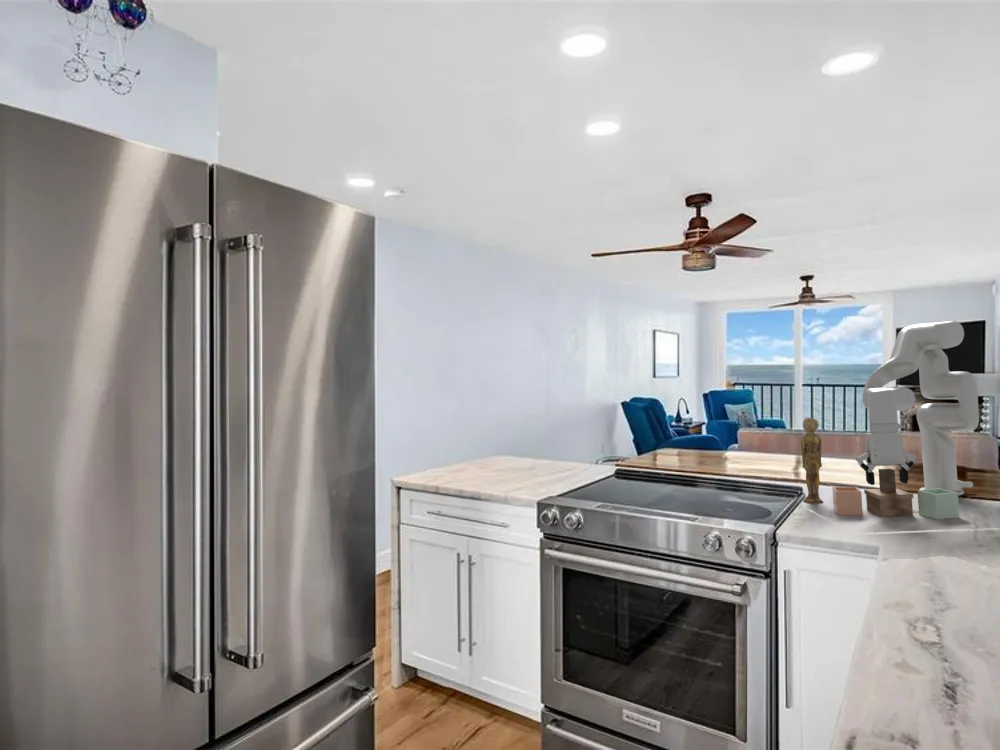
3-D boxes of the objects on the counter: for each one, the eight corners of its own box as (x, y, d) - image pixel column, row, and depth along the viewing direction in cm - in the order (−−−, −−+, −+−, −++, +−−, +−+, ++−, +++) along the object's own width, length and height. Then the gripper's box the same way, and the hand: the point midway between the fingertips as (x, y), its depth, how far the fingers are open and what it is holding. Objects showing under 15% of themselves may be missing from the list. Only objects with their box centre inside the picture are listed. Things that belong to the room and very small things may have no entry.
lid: (896, 491, 194) (894, 466, 194) (913, 498, 185) (911, 471, 185) (864, 493, 195) (862, 467, 195) (880, 499, 186) (878, 472, 186)
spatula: (878, 505, 202) (878, 503, 202) (889, 504, 203) (888, 502, 203) (910, 515, 188) (910, 512, 188) (921, 514, 188) (921, 511, 188)
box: (896, 510, 194) (895, 492, 194) (913, 517, 185) (911, 498, 185) (867, 512, 195) (865, 493, 195) (881, 518, 186) (880, 499, 186)
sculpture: (820, 501, 213) (814, 416, 213) (828, 505, 207) (822, 417, 207) (800, 502, 214) (794, 417, 214) (807, 506, 208) (801, 418, 208)
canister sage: (940, 514, 187) (938, 488, 187) (959, 519, 180) (957, 492, 180) (919, 516, 186) (917, 490, 186) (937, 521, 179) (935, 494, 179)
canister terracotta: (858, 511, 196) (856, 487, 196) (862, 517, 190) (861, 491, 190) (833, 511, 199) (832, 486, 199) (837, 516, 192) (835, 491, 192)
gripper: (906, 426, 193) (909, 480, 193) (849, 429, 195) (852, 482, 195) (920, 428, 186) (924, 484, 185) (860, 431, 187) (864, 487, 187)
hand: (887, 483), depth 190 cm, fingers open, 9 cm apart
